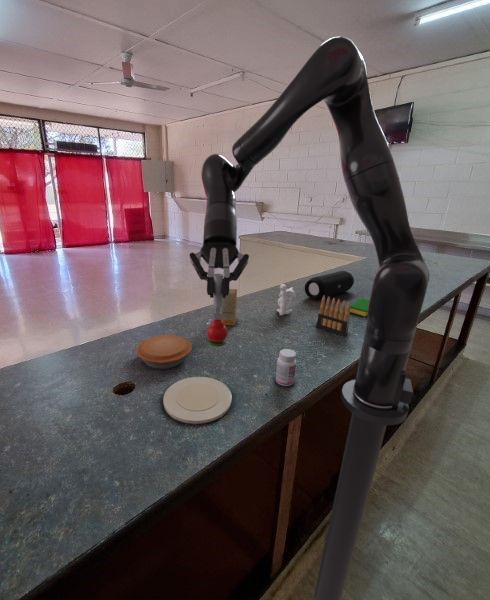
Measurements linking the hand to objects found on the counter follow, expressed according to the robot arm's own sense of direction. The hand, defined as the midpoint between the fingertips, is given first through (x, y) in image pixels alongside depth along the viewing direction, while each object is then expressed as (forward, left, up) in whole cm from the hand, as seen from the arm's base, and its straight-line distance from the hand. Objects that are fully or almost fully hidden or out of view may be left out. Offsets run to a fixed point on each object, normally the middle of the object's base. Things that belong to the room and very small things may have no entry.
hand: (218, 296), depth 66 cm
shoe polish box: (+14, -41, -26) cm, 50 cm away
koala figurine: (-2, -59, -26) cm, 64 cm away
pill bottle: (-13, -14, -26) cm, 32 cm away
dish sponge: (-31, -77, -26) cm, 87 cm away
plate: (+4, +2, -26) cm, 26 cm away
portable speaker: (-16, -89, -26) cm, 94 cm away
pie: (+21, -10, -26) cm, 35 cm away
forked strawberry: (+1, -2, -12) cm, 12 cm away
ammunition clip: (-21, -51, -26) cm, 61 cm away
